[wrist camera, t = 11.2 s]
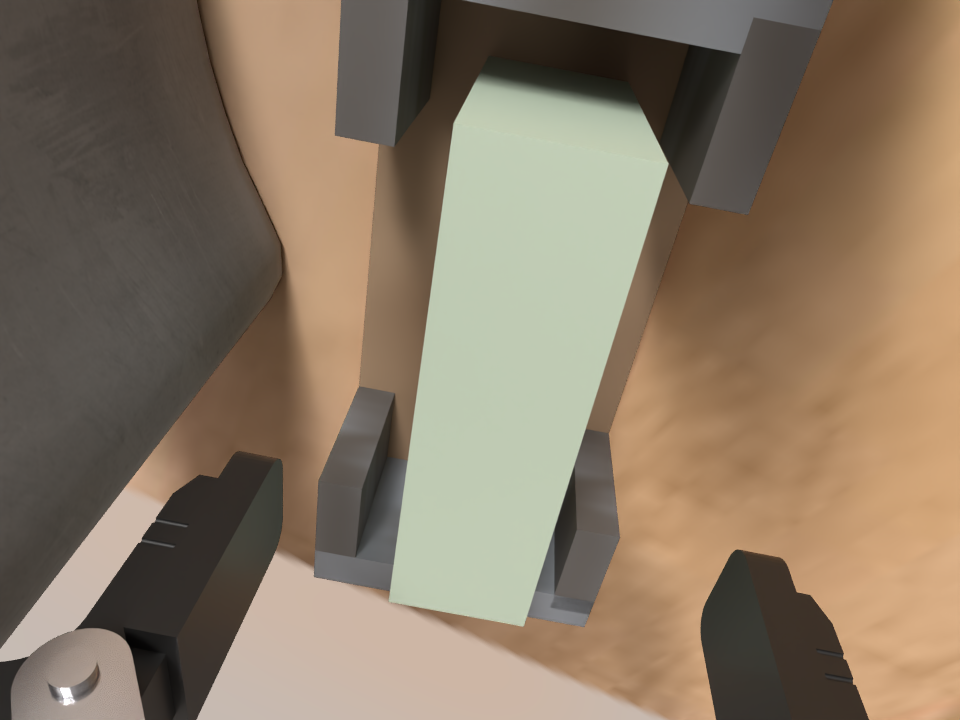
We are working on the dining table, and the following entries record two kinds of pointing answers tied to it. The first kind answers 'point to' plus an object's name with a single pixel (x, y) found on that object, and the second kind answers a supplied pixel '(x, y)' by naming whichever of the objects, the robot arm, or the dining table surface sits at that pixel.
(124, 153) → the flask
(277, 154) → the dining table surface
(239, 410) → the dining table surface
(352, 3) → the cradle
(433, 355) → the slat
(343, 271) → the dining table surface
